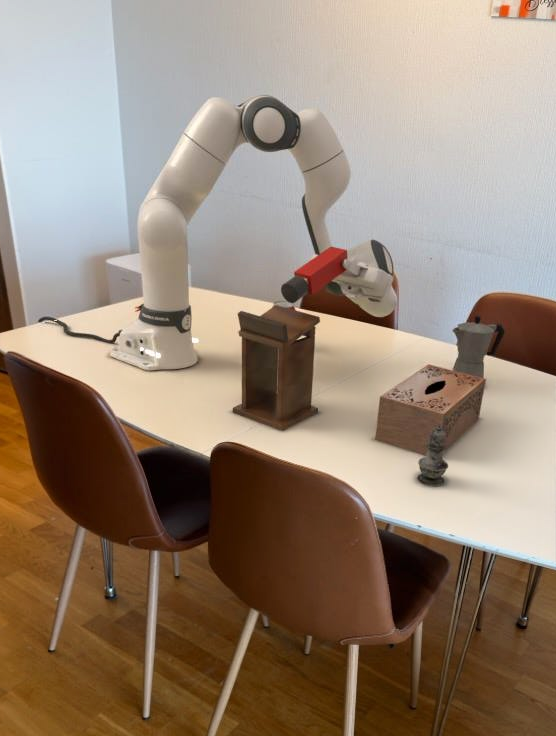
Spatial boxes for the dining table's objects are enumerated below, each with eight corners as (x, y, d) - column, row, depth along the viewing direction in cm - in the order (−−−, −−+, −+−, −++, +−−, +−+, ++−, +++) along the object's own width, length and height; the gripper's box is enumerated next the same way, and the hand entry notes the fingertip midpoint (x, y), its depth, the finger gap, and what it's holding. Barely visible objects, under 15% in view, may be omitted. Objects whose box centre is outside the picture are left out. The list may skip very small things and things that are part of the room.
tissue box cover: (422, 403, 174) (428, 364, 169) (478, 418, 168) (486, 378, 163) (375, 439, 154) (379, 396, 149) (436, 458, 149) (443, 414, 143)
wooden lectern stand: (271, 395, 170) (273, 299, 158) (318, 412, 164) (324, 313, 152) (232, 412, 160) (232, 311, 148) (281, 430, 154) (284, 326, 142)
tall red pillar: (331, 286, 167) (333, 245, 162) (346, 290, 165) (349, 249, 160) (279, 301, 152) (280, 257, 148) (295, 306, 151) (297, 261, 146)
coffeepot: (453, 392, 182) (465, 322, 173) (435, 379, 189) (446, 311, 180) (504, 388, 188) (517, 320, 178) (485, 375, 195) (497, 309, 186)
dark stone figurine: (413, 472, 143) (421, 416, 136) (442, 473, 143) (451, 418, 137) (418, 486, 138) (427, 430, 131) (448, 487, 138) (458, 431, 132)
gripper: (328, 261, 176) (300, 238, 164) (399, 278, 167) (375, 254, 155) (320, 286, 177) (291, 264, 165) (390, 304, 168) (365, 282, 156)
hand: (332, 259), depth 160 cm, fingers closed on tall red pillar, 4 cm apart
